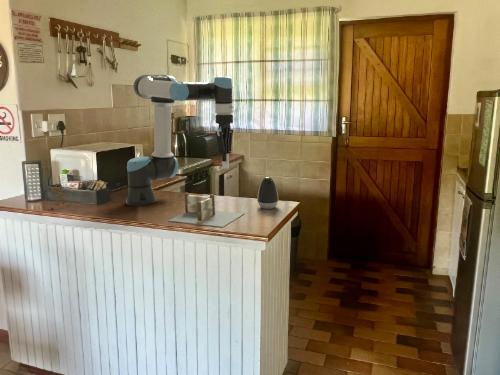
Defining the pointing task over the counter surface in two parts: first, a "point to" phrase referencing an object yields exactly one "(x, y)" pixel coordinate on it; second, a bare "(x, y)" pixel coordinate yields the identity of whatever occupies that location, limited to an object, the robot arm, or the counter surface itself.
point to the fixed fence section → (192, 202)
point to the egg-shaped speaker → (267, 194)
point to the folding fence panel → (204, 208)
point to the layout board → (208, 219)
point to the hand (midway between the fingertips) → (225, 168)
